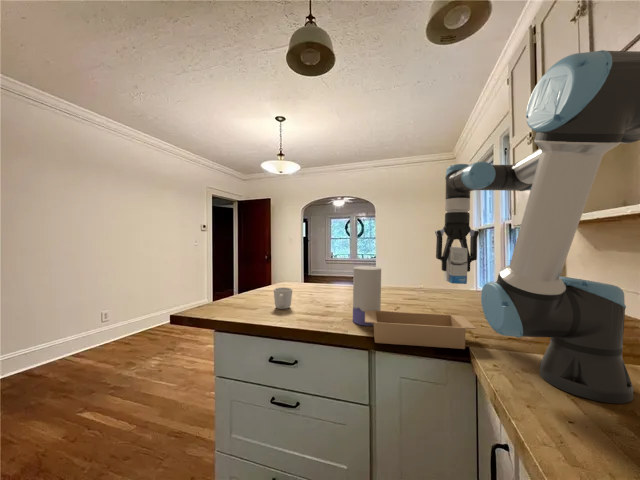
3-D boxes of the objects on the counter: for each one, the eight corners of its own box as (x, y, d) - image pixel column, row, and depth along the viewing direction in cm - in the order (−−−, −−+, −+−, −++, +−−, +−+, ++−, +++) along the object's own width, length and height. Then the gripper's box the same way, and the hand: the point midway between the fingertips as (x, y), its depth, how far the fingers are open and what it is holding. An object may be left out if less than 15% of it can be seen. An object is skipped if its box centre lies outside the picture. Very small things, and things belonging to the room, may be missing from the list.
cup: (290, 312, 116) (290, 292, 116) (270, 312, 116) (270, 292, 116) (293, 305, 127) (293, 287, 127) (275, 305, 127) (275, 287, 127)
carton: (476, 349, 81) (476, 328, 81) (364, 341, 86) (365, 322, 86) (460, 333, 94) (461, 315, 94) (364, 327, 99) (364, 310, 99)
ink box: (467, 284, 93) (468, 247, 92) (451, 283, 94) (452, 247, 93) (459, 279, 101) (460, 246, 101) (444, 279, 102) (445, 246, 102)
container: (385, 321, 106) (386, 267, 105) (370, 328, 98) (371, 270, 98) (362, 316, 112) (363, 265, 112) (347, 321, 105) (348, 267, 104)
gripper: (480, 212, 99) (478, 279, 100) (426, 212, 101) (425, 278, 102) (491, 211, 92) (488, 283, 92) (432, 211, 94) (430, 282, 95)
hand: (455, 280), depth 97 cm, fingers closed on ink box, 5 cm apart
